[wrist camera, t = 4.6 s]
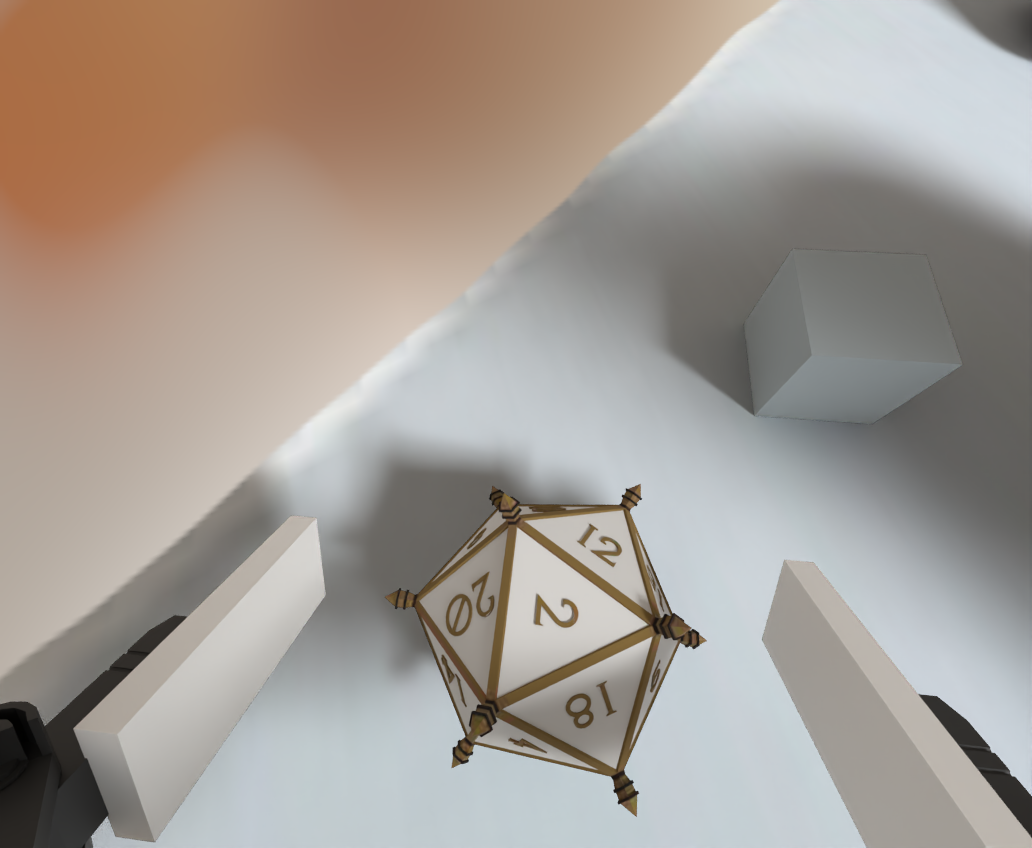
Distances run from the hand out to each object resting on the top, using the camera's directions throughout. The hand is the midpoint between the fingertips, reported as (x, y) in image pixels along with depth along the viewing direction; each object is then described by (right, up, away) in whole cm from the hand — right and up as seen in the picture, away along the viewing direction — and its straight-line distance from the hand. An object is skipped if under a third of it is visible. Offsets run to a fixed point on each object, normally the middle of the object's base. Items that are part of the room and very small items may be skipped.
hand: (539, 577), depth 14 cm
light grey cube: (+13, +7, +9) cm, 17 cm away
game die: (+1, -3, +5) cm, 6 cm away
